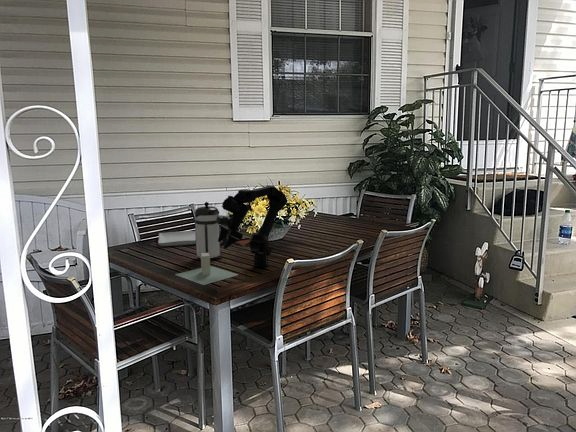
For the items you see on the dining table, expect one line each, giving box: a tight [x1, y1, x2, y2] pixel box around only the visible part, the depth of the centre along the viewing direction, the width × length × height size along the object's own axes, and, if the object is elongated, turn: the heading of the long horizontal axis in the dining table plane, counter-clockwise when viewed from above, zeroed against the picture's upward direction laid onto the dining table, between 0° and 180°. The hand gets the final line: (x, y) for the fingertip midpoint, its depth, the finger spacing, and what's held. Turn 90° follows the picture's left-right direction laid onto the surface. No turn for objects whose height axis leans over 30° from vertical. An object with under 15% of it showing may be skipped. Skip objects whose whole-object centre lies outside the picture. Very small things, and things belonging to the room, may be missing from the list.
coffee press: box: [193, 201, 228, 260], centre depth 240 cm, size 17×16×30 cm
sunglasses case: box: [232, 236, 252, 248], centre depth 276 cm, size 18×7×7 cm
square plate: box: [157, 230, 196, 247], centre depth 281 cm, size 27×27×4 cm
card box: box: [200, 253, 211, 275], centre depth 214 cm, size 4×6×9 cm, turn 17°
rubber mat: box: [174, 265, 239, 286], centre depth 212 cm, size 20×22×1 cm
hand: (221, 245), depth 213 cm, fingers open, 9 cm apart
